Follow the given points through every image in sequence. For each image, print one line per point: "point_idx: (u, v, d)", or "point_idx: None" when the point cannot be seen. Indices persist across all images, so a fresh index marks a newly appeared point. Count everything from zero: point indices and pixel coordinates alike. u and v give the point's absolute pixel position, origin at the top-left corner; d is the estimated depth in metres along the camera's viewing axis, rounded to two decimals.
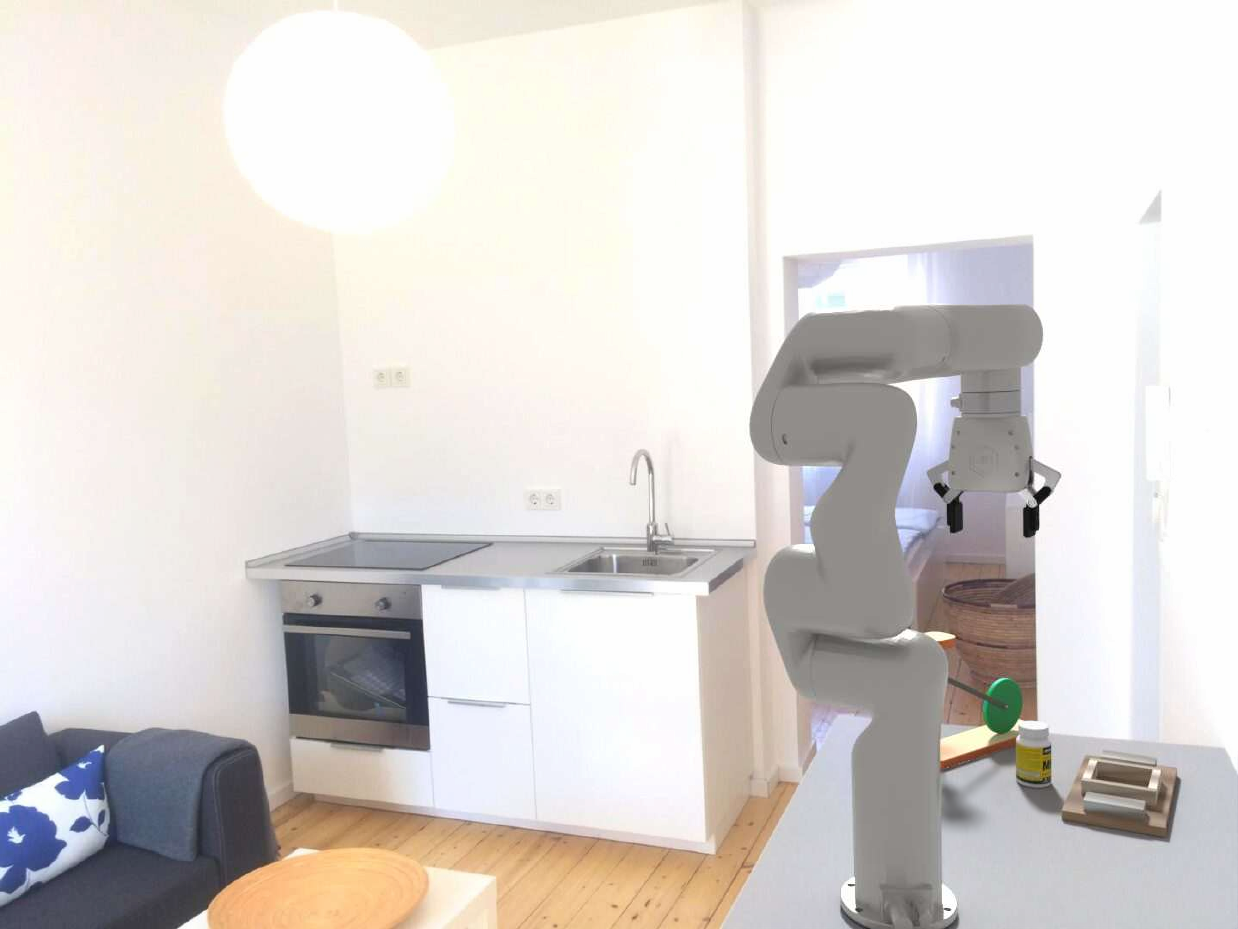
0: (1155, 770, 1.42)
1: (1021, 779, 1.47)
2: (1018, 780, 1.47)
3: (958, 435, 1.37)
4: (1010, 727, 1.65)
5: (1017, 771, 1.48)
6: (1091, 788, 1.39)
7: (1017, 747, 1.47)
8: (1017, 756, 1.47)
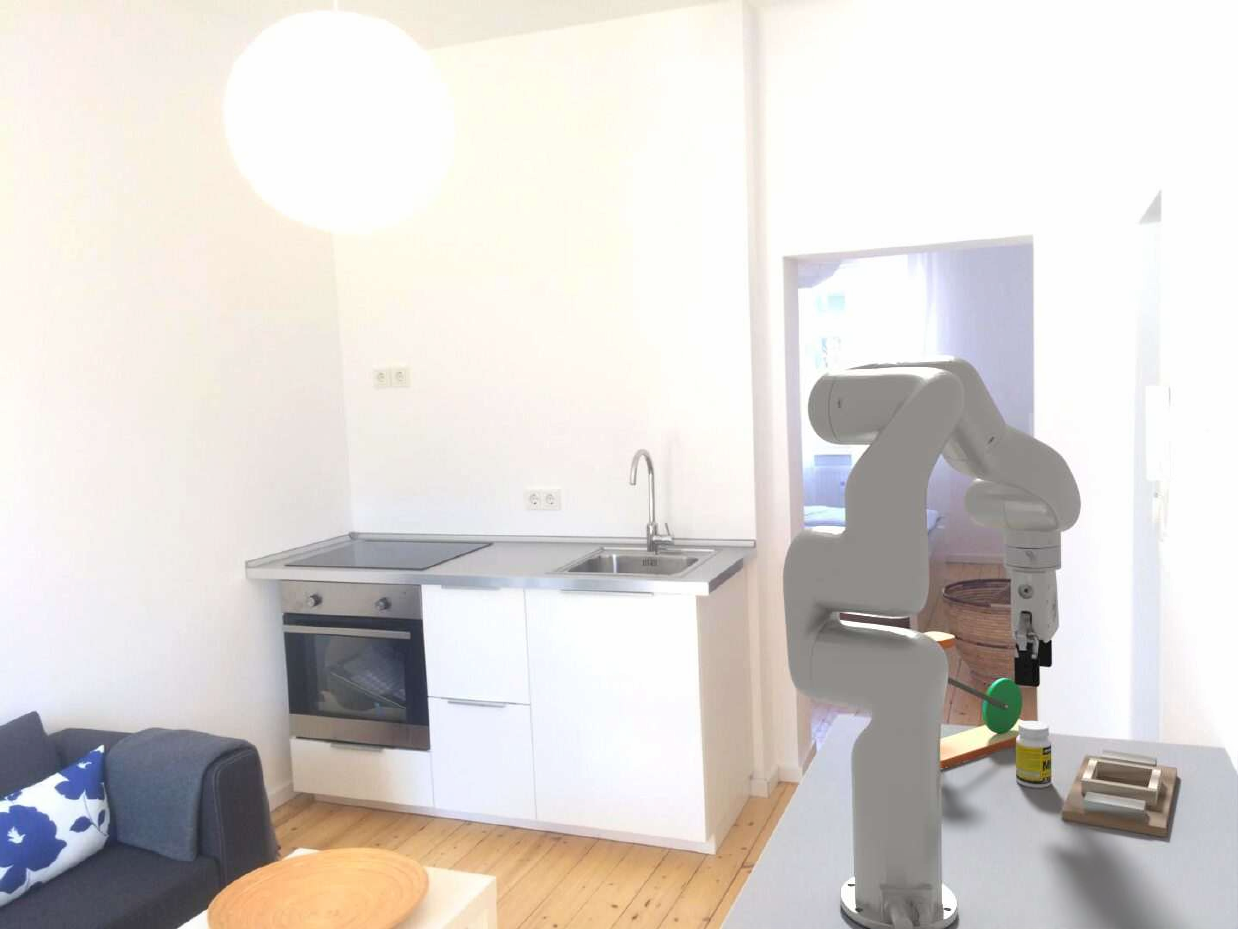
0: (1155, 770, 1.42)
1: (1021, 779, 1.47)
2: (1018, 780, 1.47)
3: (1048, 589, 1.41)
4: (1010, 727, 1.65)
5: (1017, 771, 1.48)
6: (1091, 788, 1.39)
7: (1017, 747, 1.47)
8: (1017, 756, 1.47)
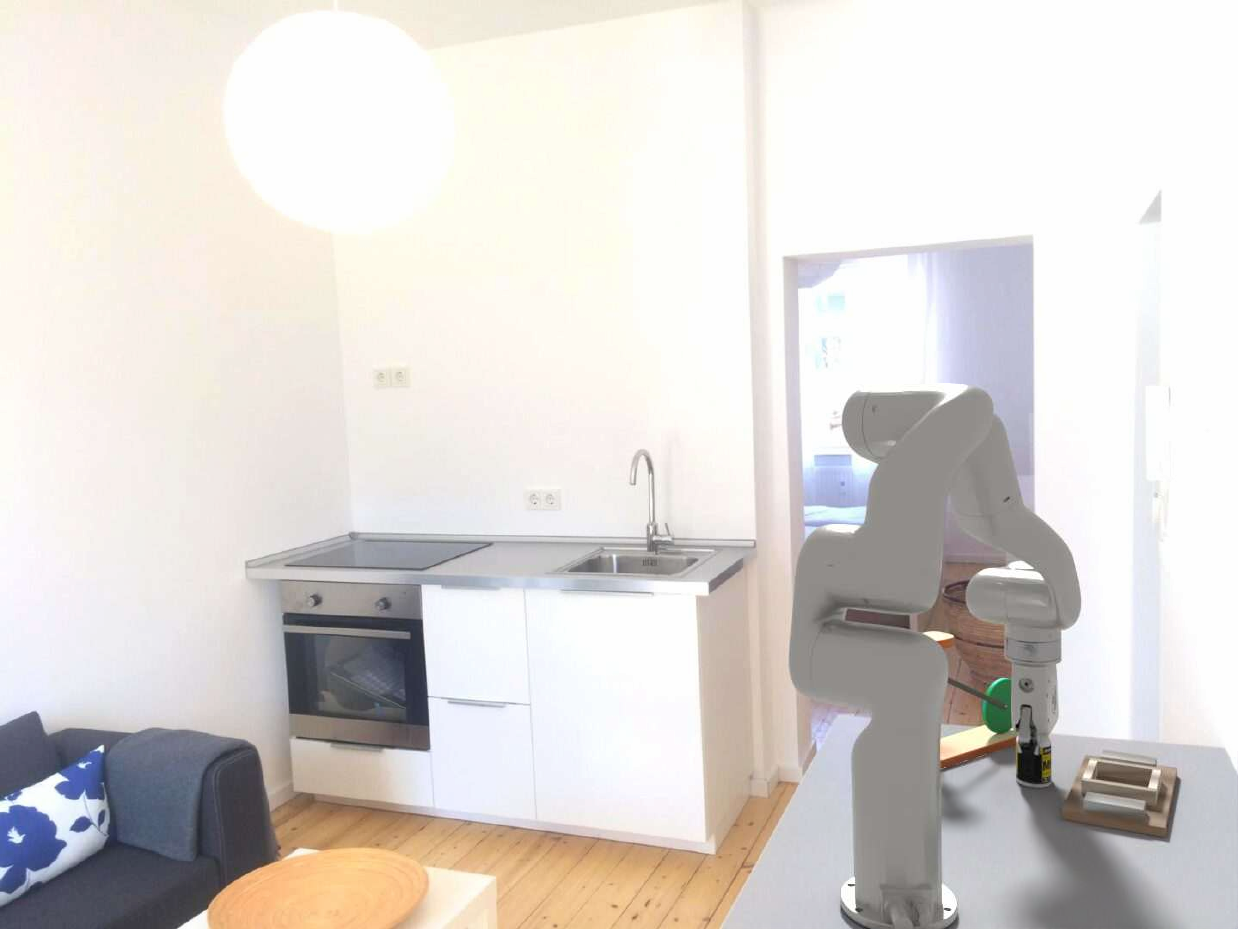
0: (1155, 770, 1.42)
1: None
2: (1018, 780, 1.47)
3: (1048, 683, 1.42)
4: (1009, 727, 1.65)
5: (1017, 771, 1.48)
6: (1091, 788, 1.39)
7: (1017, 747, 1.47)
8: None
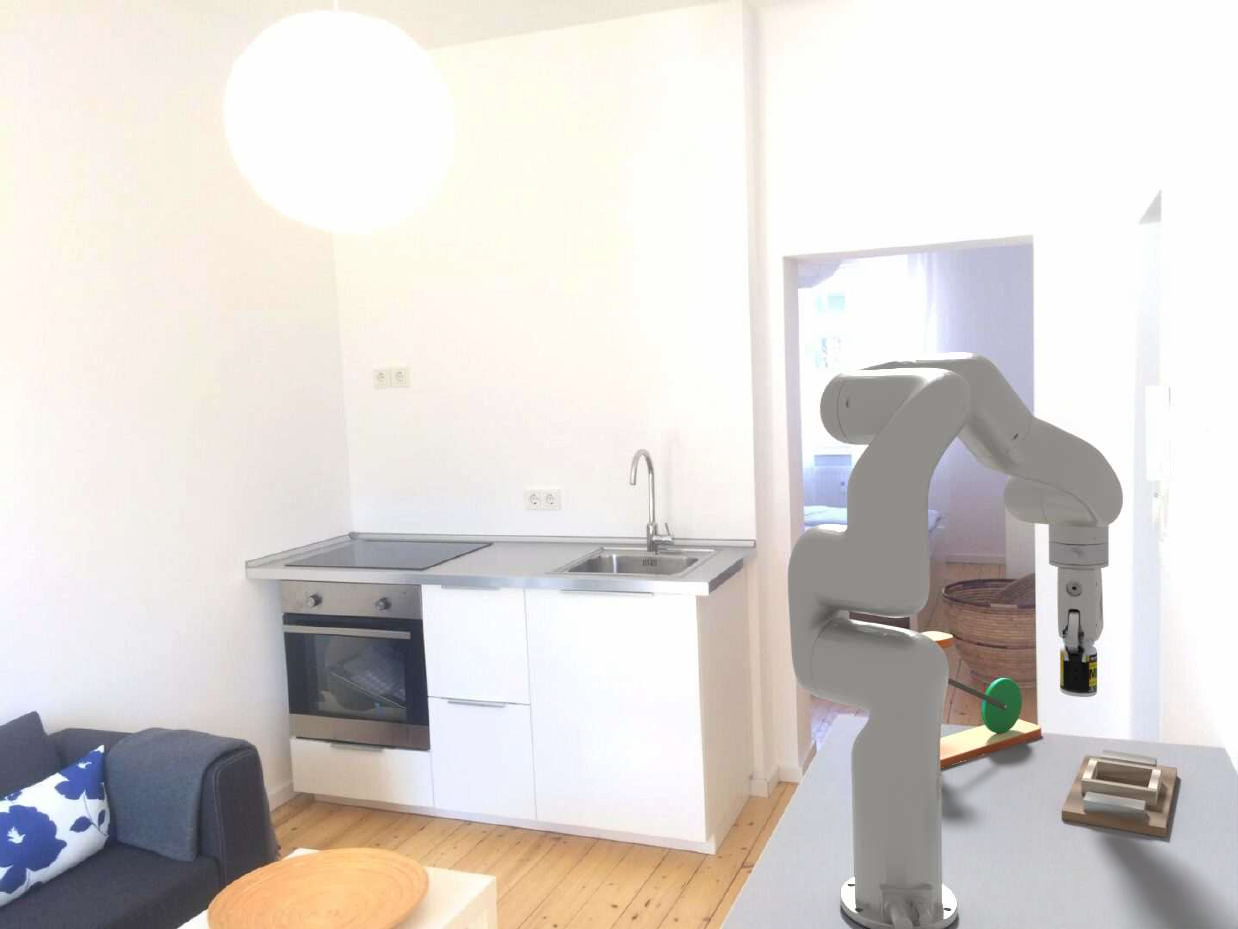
0: (1155, 770, 1.42)
1: None
2: (1063, 690, 1.43)
3: (1096, 587, 1.38)
4: (1009, 727, 1.65)
5: (1062, 681, 1.43)
6: (1091, 788, 1.39)
7: (1062, 656, 1.43)
8: (1062, 665, 1.43)
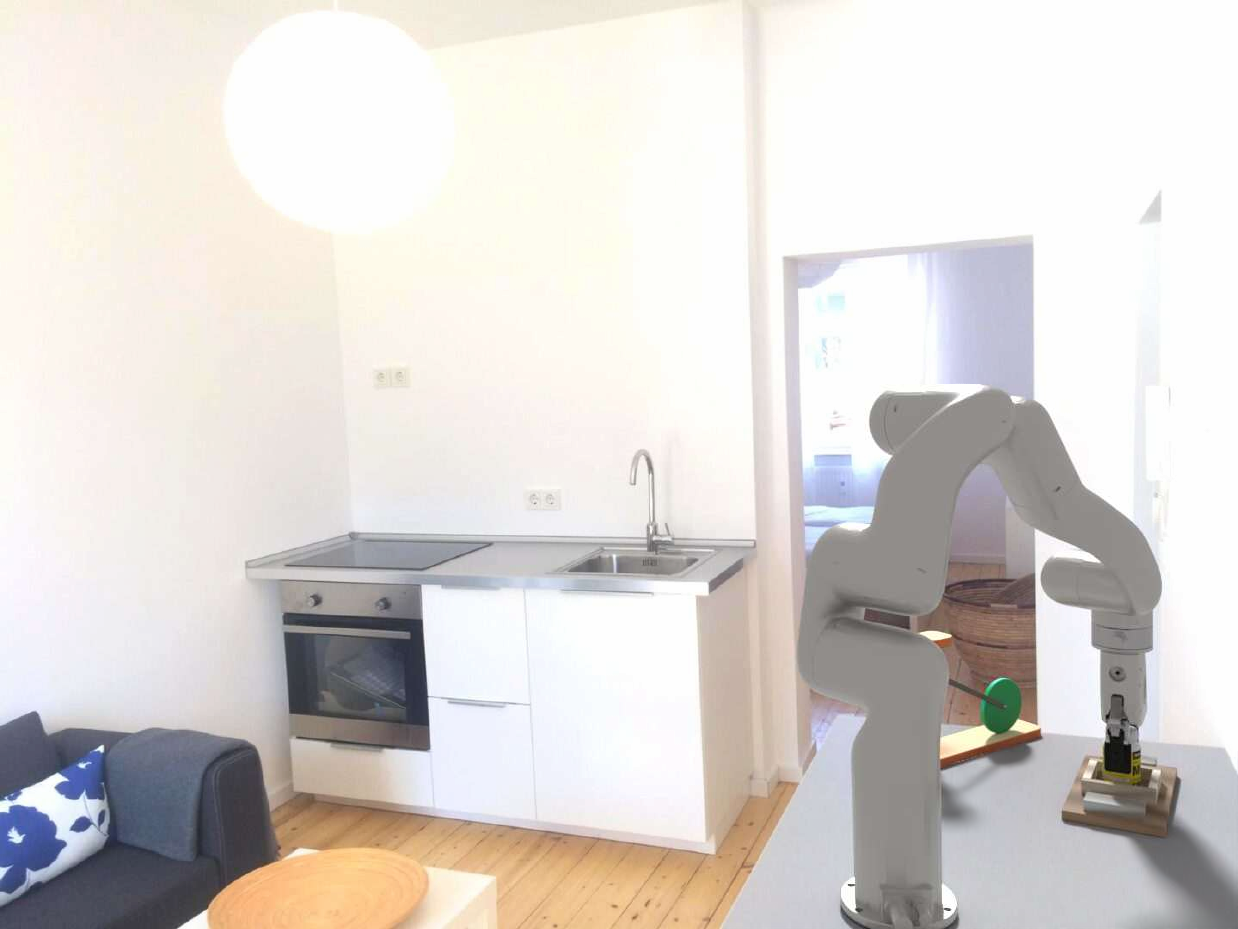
0: (1155, 770, 1.42)
1: None
2: None
3: (1140, 672, 1.36)
4: (1009, 727, 1.65)
5: (1104, 776, 1.41)
6: (1091, 788, 1.39)
7: None
8: None
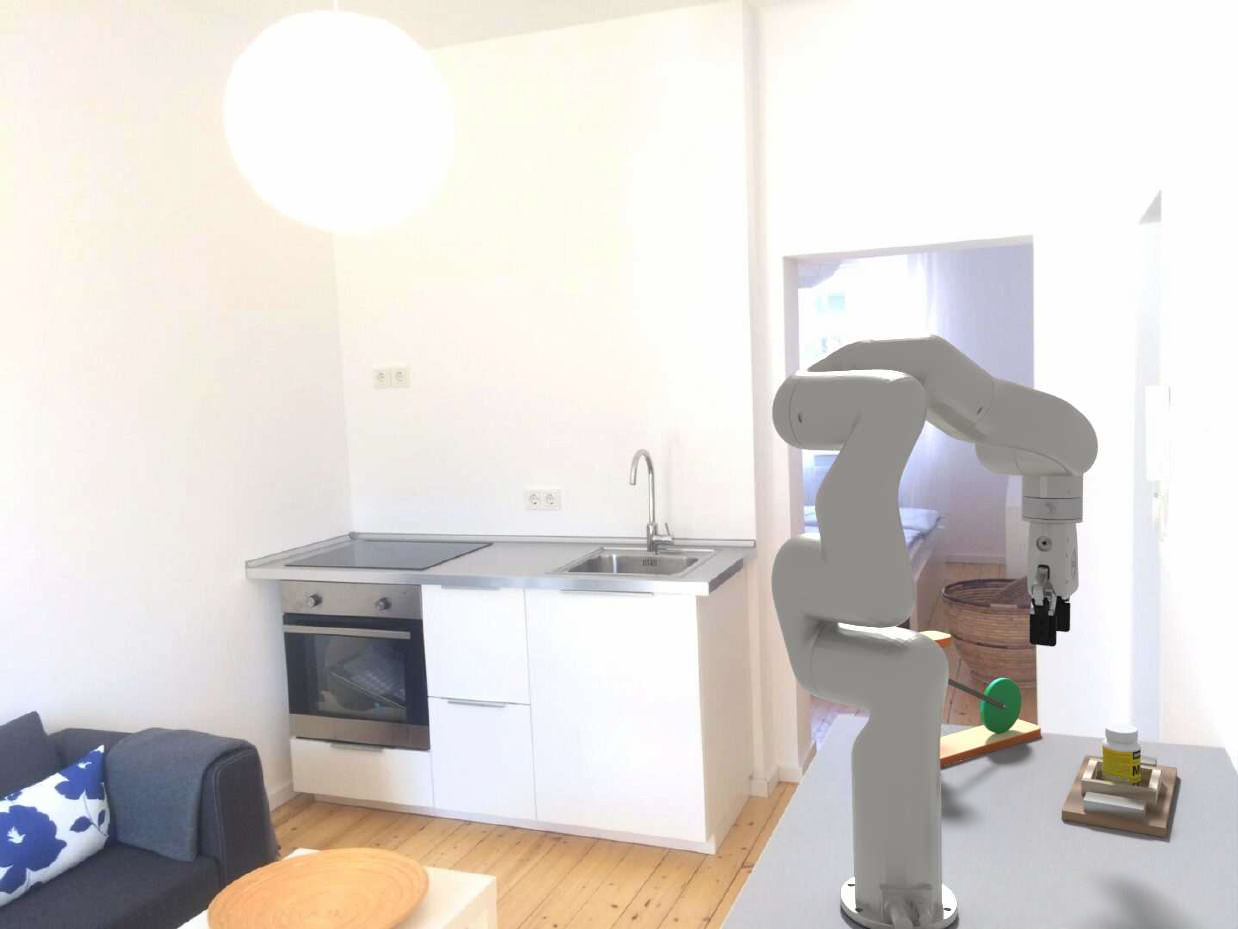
0: (1155, 770, 1.42)
1: None
2: None
3: (1067, 542, 1.33)
4: (1008, 727, 1.65)
5: (1104, 776, 1.41)
6: (1091, 788, 1.39)
7: (1104, 751, 1.41)
8: (1104, 761, 1.41)
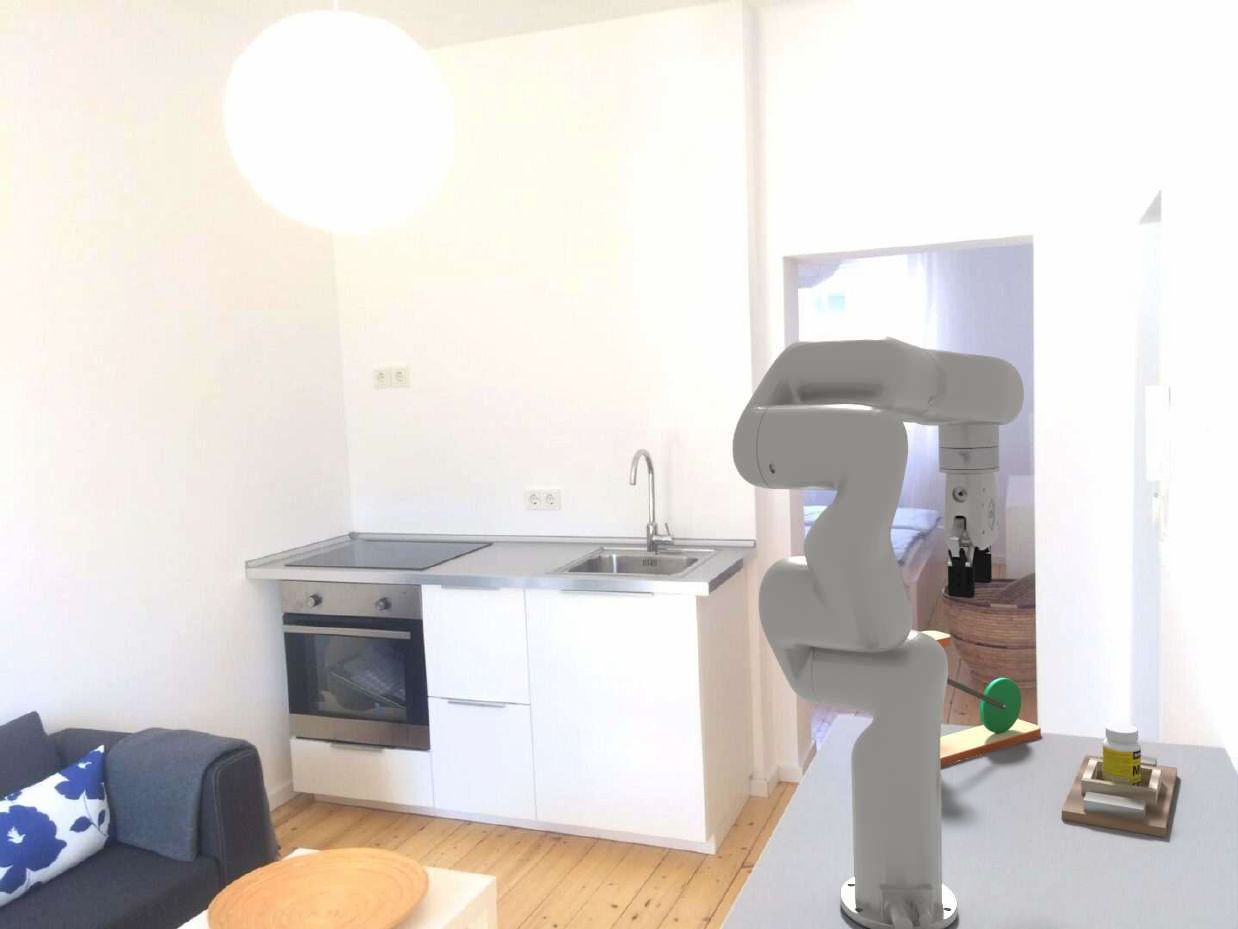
0: (1155, 770, 1.42)
1: None
2: None
3: (983, 492, 1.31)
4: (1008, 727, 1.65)
5: (1104, 776, 1.41)
6: (1091, 788, 1.39)
7: (1105, 751, 1.41)
8: (1104, 760, 1.41)
